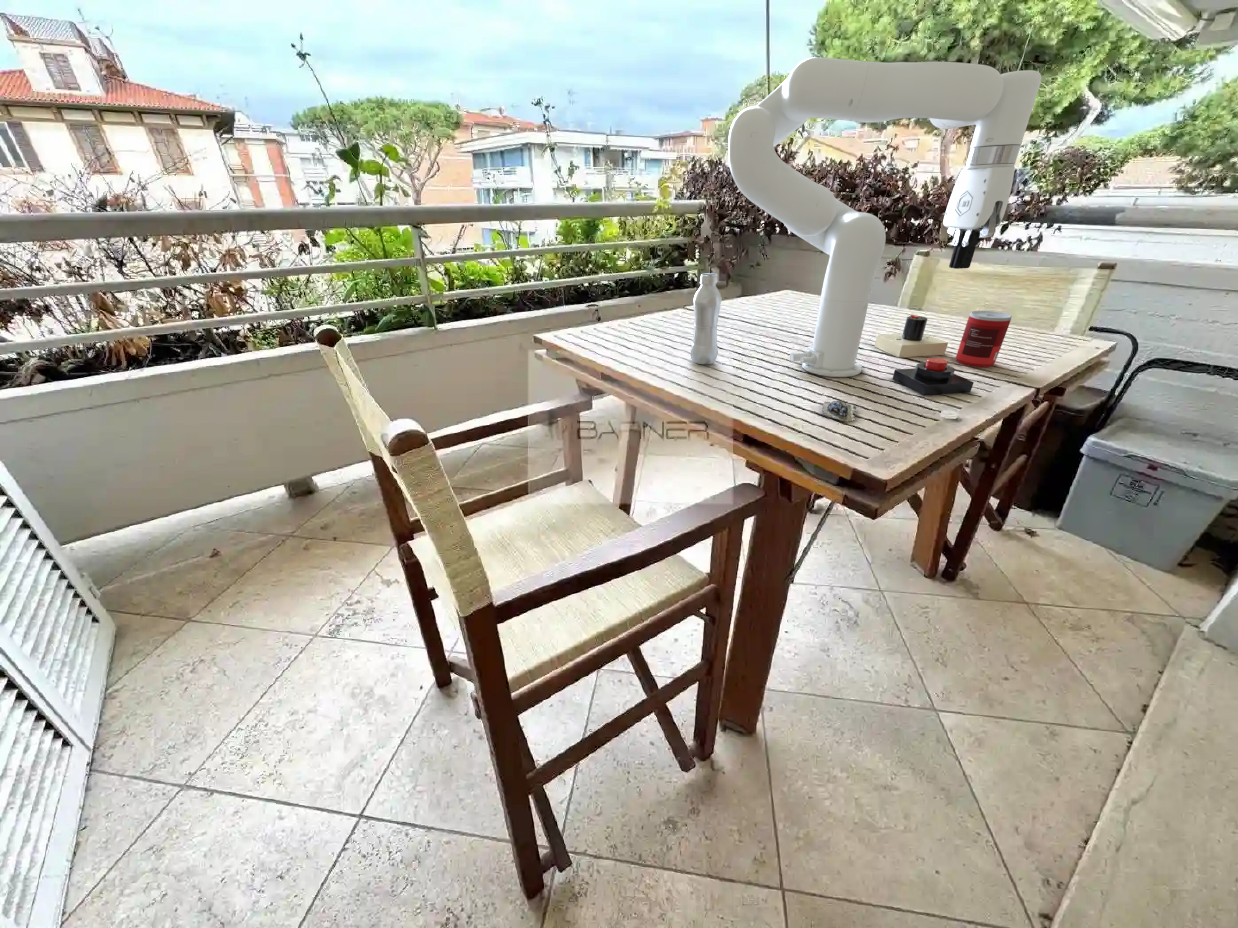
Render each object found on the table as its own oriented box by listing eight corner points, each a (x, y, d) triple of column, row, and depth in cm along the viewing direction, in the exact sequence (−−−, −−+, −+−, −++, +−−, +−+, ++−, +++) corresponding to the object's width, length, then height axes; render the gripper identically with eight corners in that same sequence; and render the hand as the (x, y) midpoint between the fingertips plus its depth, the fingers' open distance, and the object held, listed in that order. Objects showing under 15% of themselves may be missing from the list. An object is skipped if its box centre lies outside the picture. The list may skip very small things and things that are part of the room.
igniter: (923, 396, 94) (929, 376, 92) (891, 379, 103) (896, 361, 101) (970, 392, 95) (977, 373, 93) (935, 376, 104) (940, 358, 102)
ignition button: (932, 372, 96) (935, 363, 95) (920, 366, 99) (923, 358, 98) (949, 371, 96) (952, 362, 95) (936, 365, 99) (939, 357, 98)
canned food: (982, 357, 115) (998, 310, 109) (1002, 368, 108) (1020, 318, 102) (948, 357, 115) (962, 310, 110) (965, 368, 108) (982, 318, 103)
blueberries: (850, 404, 91) (852, 395, 90) (868, 421, 84) (871, 411, 83) (814, 405, 92) (816, 395, 91) (829, 422, 85) (831, 412, 84)
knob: (925, 340, 118) (932, 318, 116) (909, 341, 118) (915, 319, 115) (913, 335, 122) (919, 314, 119) (897, 336, 121) (903, 315, 119)
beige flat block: (898, 357, 116) (902, 344, 115) (874, 346, 125) (877, 334, 123) (944, 354, 117) (948, 342, 116) (917, 344, 126) (920, 332, 125)
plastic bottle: (686, 365, 114) (690, 276, 104) (693, 357, 120) (698, 272, 110) (713, 368, 112) (720, 277, 102) (719, 360, 118) (726, 272, 108)
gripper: (943, 162, 93) (917, 264, 102) (1004, 156, 80) (968, 273, 89) (979, 161, 94) (950, 263, 103) (1046, 155, 81) (1006, 272, 90)
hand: (958, 267), depth 96 cm, fingers closed
